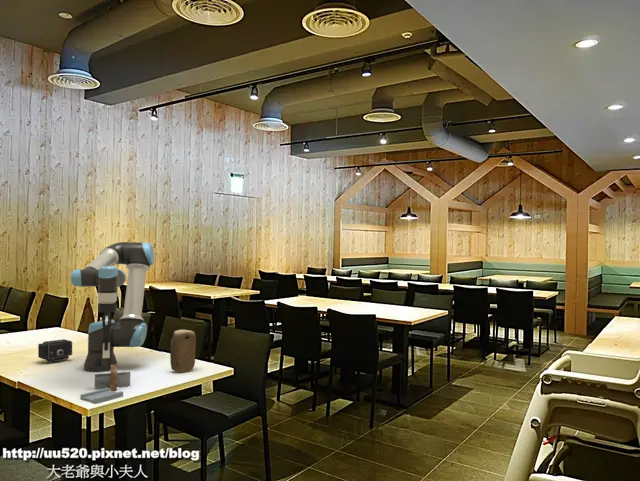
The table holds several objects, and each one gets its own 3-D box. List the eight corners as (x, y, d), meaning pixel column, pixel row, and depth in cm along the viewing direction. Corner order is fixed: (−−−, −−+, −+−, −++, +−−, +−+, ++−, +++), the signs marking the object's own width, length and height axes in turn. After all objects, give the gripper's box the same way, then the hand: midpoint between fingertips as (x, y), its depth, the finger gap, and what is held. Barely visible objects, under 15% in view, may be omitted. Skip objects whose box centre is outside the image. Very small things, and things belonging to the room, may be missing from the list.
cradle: (107, 392, 208) (107, 387, 208) (123, 396, 202) (123, 391, 203) (80, 399, 198) (80, 394, 198) (95, 403, 192) (96, 399, 192)
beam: (116, 381, 224) (116, 364, 224) (116, 390, 210) (117, 372, 210) (110, 382, 223) (110, 364, 223) (110, 391, 209) (110, 372, 209)
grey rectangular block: (129, 384, 221) (129, 371, 221) (130, 386, 217) (130, 374, 217) (94, 387, 215) (94, 374, 215) (94, 390, 211) (94, 376, 211)
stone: (175, 374, 238) (176, 332, 239) (167, 371, 243) (168, 330, 244) (197, 370, 247) (198, 329, 247) (189, 368, 252) (190, 327, 252)
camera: (63, 360, 269) (34, 361, 257) (66, 338, 270) (36, 339, 258) (73, 363, 262) (43, 365, 250) (76, 340, 263) (46, 341, 252)
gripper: (116, 303, 211) (115, 360, 211) (117, 300, 223) (115, 354, 223) (97, 304, 208) (95, 361, 208) (98, 301, 221) (97, 355, 220)
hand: (106, 357), depth 215 cm, fingers closed
